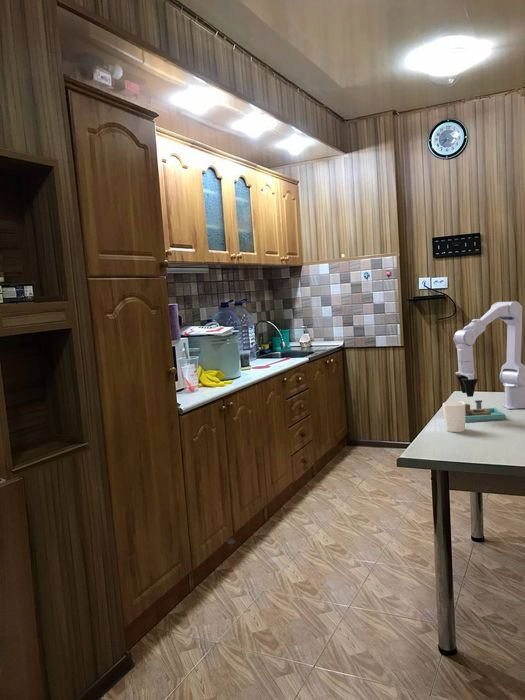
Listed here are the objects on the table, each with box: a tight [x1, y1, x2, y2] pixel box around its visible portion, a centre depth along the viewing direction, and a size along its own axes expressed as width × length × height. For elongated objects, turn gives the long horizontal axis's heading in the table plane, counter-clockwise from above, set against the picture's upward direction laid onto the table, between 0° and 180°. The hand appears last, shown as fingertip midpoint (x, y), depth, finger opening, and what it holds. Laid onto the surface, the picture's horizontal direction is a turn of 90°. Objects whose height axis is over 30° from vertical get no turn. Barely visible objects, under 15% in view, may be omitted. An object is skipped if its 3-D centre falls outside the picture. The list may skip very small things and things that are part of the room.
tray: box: [465, 407, 506, 423], centre depth 217 cm, size 16×12×2 cm
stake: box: [474, 399, 483, 409], centre depth 228 cm, size 3×2×4 cm
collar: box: [465, 403, 491, 416], centre depth 217 cm, size 10×7×5 cm
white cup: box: [442, 400, 466, 433], centre depth 202 cm, size 8×8×10 cm
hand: (467, 394), depth 217 cm, fingers open, 7 cm apart
